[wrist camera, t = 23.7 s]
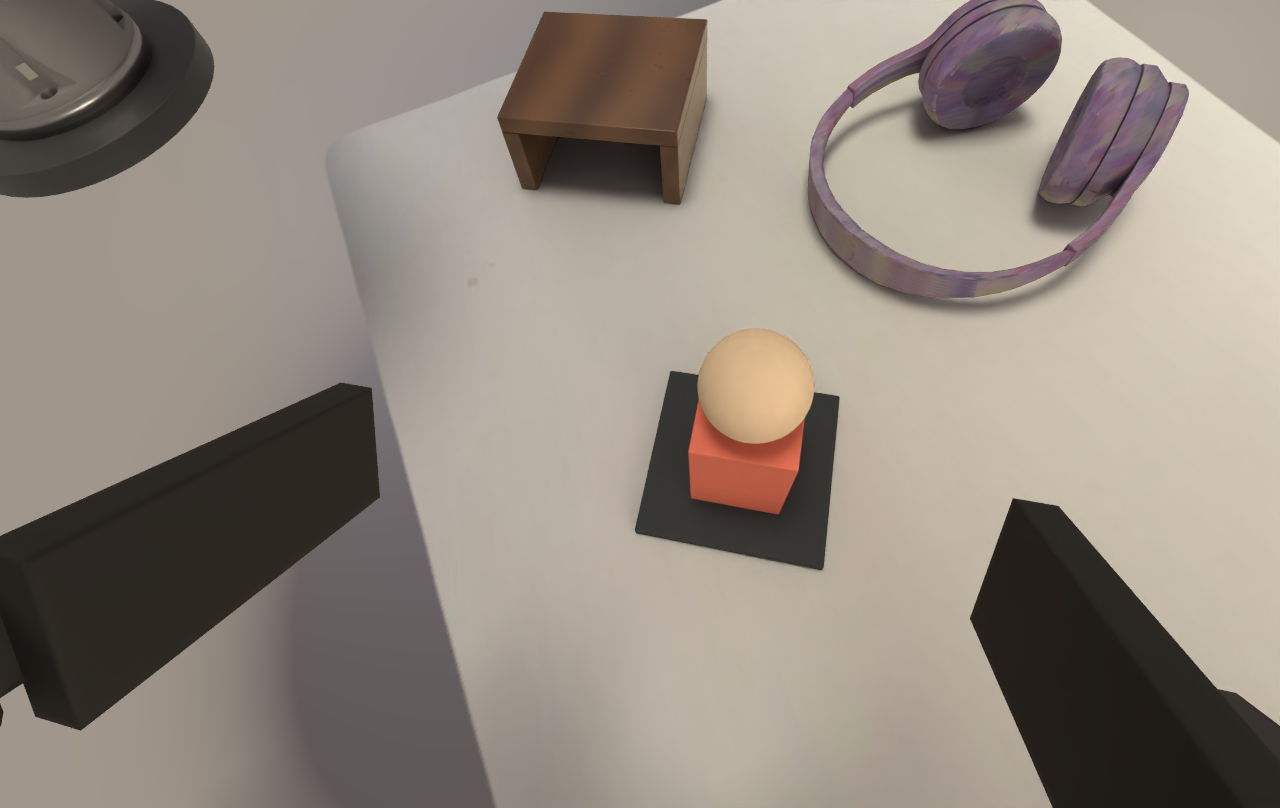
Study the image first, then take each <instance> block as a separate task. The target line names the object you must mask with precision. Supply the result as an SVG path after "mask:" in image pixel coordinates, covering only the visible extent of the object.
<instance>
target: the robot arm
mask: <svg viewBox="0 0 1280 808" xmlns="http://www.w3.org/2000/svg"><path fill="white" fill-rule="evenodd" d="M151 54H152V49H151V44H150V41H149V39H148V37H147V36H146V35H145V34H144V33H143V31H142V30H141V29H140V28H139V27H138V26H137V24H136V23H135V22H134V21H133V20H132V19H131V17H130V16H129V15H128V14H127V13H126V12H124V11H123V10H121V9H120V8H119V7H117V6H116V5H115V4H113V3H112V2H111V1H109V0H0V138H2V139H6V140H15V141H26V140H36V139H42V138H47V137H51V136H55V135H58V134H61V133H64V132H67V131H70V130H73V129H75V128H77V127H80V126H82V125H84V124H86V123H88V122H90V121H92V120H94V119H96V118H97V117H99V116H101V115H102V114H104V113H105V112H107V111H108V110H110V109H111V108H113V107H114V106H115V105H117V104H118V103H119V102H120V101H121V100H123V99H124V98H125V97H126V96H127V95H128V94H129V93H130V92H131V91H132V90H133V89H134V88H135V87H136V85H137V84H138V83H139V82H140V80H141V79H142V77H143V76H144V74H145V72H146V70H147V68H148V66H149V63H150V60H151ZM375 441H376V440H375V427H374V413H373V400H372V389H371V388H368V387H363V386H357V385H351V384H345V383H339V384H337V385H335V386H332V387H330V388H328V389H326V390H323V391H321V392H319V393H317V394H315V395H312V396H310V397H308V398H306V399H303V400H301V401H299V402H297V403H295V404H292V405H290V406H288V407H286V408H284V409H281V410H279V411H277V412H275V413H272V414H270V415H268V416H266V417H263V418H261V419H259V420H257V421H255V422H252V423H250V424H248V425H246V426H243V427H241V428H239V429H237V430H235V431H232V432H230V433H228V434H226V435H223V436H221V437H219V438H217V439H215V440H212V441H211V442H208V443H206V444H204V445H201V446H199V447H197V448H195V449H192V450H190V451H188V452H186V453H184V454H181V455H179V456H177V457H175V458H172V459H170V460H168V461H166V462H164V463H161V464H159V465H157V466H155V467H152V468H150V469H148V470H146V471H144V472H141V473H139V474H137V475H135V476H132V477H130V478H128V479H126V480H123V481H121V482H119V483H117V484H115V485H112V486H110V487H108V488H106V489H104V490H102V491H99V492H97V493H95V494H92V495H90V496H88V497H86V498H83V499H81V500H79V501H77V502H75V503H72V504H70V505H68V506H66V507H63V508H61V509H59V510H57V511H55V512H52V513H50V514H48V515H46V516H43V517H41V518H39V519H37V520H35V521H33V522H30V523H28V524H26V525H24V526H21V527H19V528H17V529H15V530H12V531H10V532H8V533H6V534H3V535H2V536H0V698H1V697H2V696H4V695H5V694H7V693H8V692H10V691H12V690H13V689H14V688H16V687H18V686H19V685H21V684H22V683H23V684H24V687H25V689H26V692H27V695H28V698H29V700H30V703H31V706H32V709H33V711H34V714H35V716H36V717H39V718H42V719H45V720H48V721H51V722H55V723H58V724H61V725H64V726H68V727H71V728H74V729H78V730H82V729H83V728H85V727H86V726H87V725H88V724H90V723H91V722H92V721H94V720H95V719H96V718H97V717H99V716H100V715H101V714H103V713H104V712H105V711H106V710H108V709H109V708H110V707H112V706H113V705H114V704H115V703H117V702H118V701H119V700H121V699H122V698H123V697H124V696H126V695H127V694H128V693H130V692H131V691H132V690H133V689H135V688H136V687H137V686H138V685H140V684H141V683H142V682H144V681H145V680H146V679H147V678H149V677H150V676H151V675H153V674H154V673H155V672H156V671H158V670H159V669H160V668H162V667H163V666H164V665H165V664H167V663H168V662H169V661H170V660H172V659H173V658H174V657H176V656H177V655H178V654H180V653H181V652H182V651H183V650H185V649H186V648H187V647H188V646H190V645H191V644H192V643H194V642H195V641H196V640H197V639H199V638H200V637H201V636H203V635H204V634H205V633H206V632H207V631H209V630H210V629H212V628H213V627H214V626H215V625H217V624H218V623H219V622H221V621H222V620H223V619H224V618H225V617H227V616H228V615H229V614H231V613H232V612H233V611H235V610H236V609H237V608H238V607H240V606H241V605H242V604H244V603H245V602H246V601H247V600H249V599H250V598H251V597H252V596H254V595H255V594H256V593H258V592H259V591H260V590H262V589H263V588H264V587H265V586H267V585H268V584H269V583H271V582H272V581H273V580H274V579H276V578H277V577H278V576H279V575H281V574H282V573H283V572H285V571H286V570H287V569H288V568H290V567H291V566H292V565H294V564H295V563H296V562H297V561H299V560H300V559H301V558H302V557H304V556H305V555H306V554H308V553H309V552H310V551H312V550H313V549H314V548H315V547H317V546H318V545H319V544H321V543H322V542H323V541H324V540H326V539H327V538H328V537H329V536H331V535H332V534H333V533H335V532H336V531H337V530H338V529H340V528H341V527H342V526H344V525H345V524H346V523H347V522H349V521H350V520H351V519H353V518H354V517H355V516H356V515H358V514H359V513H360V512H362V511H363V510H364V509H365V508H366V507H368V506H369V505H371V504H372V503H373V502H374V501H375V500H377V499H378V498H379V497H380V493H379V479H378V466H377V453H376V442H375ZM970 620H971V622H972V624H973V627H974V629H975V631H976V633H977V636H978V638H979V640H980V643H981V645H982V647H983V649H984V652H985V654H986V656H987V659H988V661H989V663H990V665H991V668H992V670H993V672H994V675H995V677H996V679H997V681H998V684H999V686H1000V688H1001V690H1002V693H1003V695H1004V697H1005V700H1006V702H1007V704H1008V706H1009V709H1010V711H1011V713H1012V716H1013V718H1014V720H1015V722H1016V725H1017V727H1018V729H1019V732H1020V734H1021V736H1022V738H1023V741H1024V743H1025V745H1026V748H1027V750H1028V752H1029V754H1030V757H1031V759H1032V761H1033V764H1034V766H1035V768H1036V770H1037V773H1038V775H1039V777H1040V780H1041V782H1042V784H1043V786H1044V789H1045V791H1046V793H1047V796H1048V798H1049V800H1050V802H1051V805H1052V807H1053V808H1280V726H1279V725H1278V724H1276V723H1275V722H1274V721H1273V720H1271V719H1270V718H1269V717H1267V716H1266V715H1265V714H1263V713H1262V712H1261V711H1259V710H1258V709H1257V708H1255V707H1254V706H1253V705H1251V704H1250V703H1249V702H1247V701H1246V700H1245V699H1243V698H1242V697H1241V696H1239V695H1238V694H1237V693H1233V692H1229V691H1224V690H1219V689H1217V688H1216V687H1215V686H1214V685H1213V684H1212V683H1211V681H1210V680H1209V679H1208V678H1207V677H1206V676H1205V675H1204V673H1203V672H1202V671H1201V670H1200V669H1199V668H1198V666H1197V665H1196V664H1195V663H1194V662H1193V661H1192V660H1191V658H1190V657H1189V656H1188V655H1187V654H1186V653H1185V651H1184V650H1183V649H1182V648H1181V647H1180V646H1179V645H1178V643H1177V642H1176V641H1175V640H1174V639H1173V638H1172V636H1171V635H1170V634H1169V633H1168V632H1167V631H1166V630H1165V628H1164V627H1163V626H1162V625H1161V624H1160V623H1159V621H1158V620H1157V619H1156V618H1155V617H1154V616H1153V615H1152V613H1151V612H1150V611H1149V610H1148V609H1147V608H1146V606H1145V605H1144V604H1143V603H1142V602H1141V601H1140V600H1139V598H1138V597H1137V596H1136V595H1135V594H1134V593H1133V591H1132V590H1131V589H1130V588H1129V587H1128V586H1127V585H1126V583H1125V582H1124V581H1123V580H1122V579H1121V578H1120V576H1119V575H1118V574H1117V573H1116V572H1115V571H1114V570H1113V568H1112V567H1111V566H1110V565H1109V564H1108V563H1107V561H1106V560H1105V559H1104V558H1103V557H1102V556H1101V555H1100V553H1099V552H1098V551H1097V550H1096V549H1095V548H1094V546H1093V545H1092V544H1091V543H1090V542H1089V541H1088V540H1087V538H1086V537H1085V536H1084V535H1083V534H1082V533H1081V531H1080V530H1079V529H1078V528H1077V527H1076V526H1075V525H1074V523H1073V522H1072V521H1071V520H1070V519H1069V518H1068V516H1067V515H1066V514H1065V513H1064V512H1063V511H1062V510H1061V508H1060V507H1059V506H1055V505H1049V504H1044V503H1038V502H1032V501H1026V500H1020V499H1014V498H1013V500H1012V502H1011V505H1010V508H1009V511H1008V514H1007V516H1006V519H1005V522H1004V525H1003V528H1002V530H1001V533H1000V536H999V539H998V542H997V544H996V547H995V550H994V553H993V555H992V558H991V561H990V564H989V567H988V569H987V572H986V575H985V578H984V581H983V583H982V586H981V589H980V592H979V595H978V597H977V600H976V603H975V606H974V609H973V611H972V614H971V617H970ZM2 716H3V710H2V707H1V705H0V726H1V723H2Z"/></svg>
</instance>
